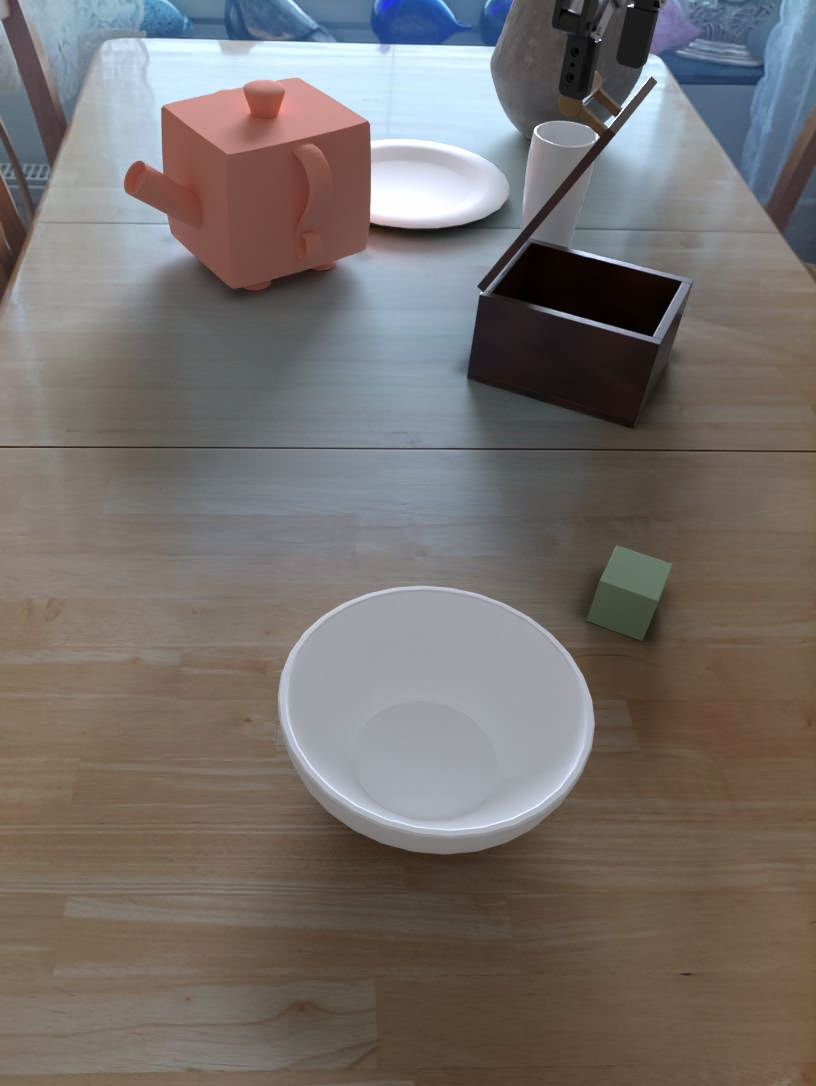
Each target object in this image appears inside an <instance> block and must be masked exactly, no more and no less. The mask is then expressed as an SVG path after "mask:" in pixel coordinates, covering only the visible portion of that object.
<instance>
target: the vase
mask: <svg viewBox="0 0 816 1086" xmlns="http://www.w3.org/2000/svg"><path fill="white" fill-rule="evenodd" d="M573 1H574V0H571V2H570V7H569V10H570V8H571V6H572V4H573ZM555 3H556V0H513V1H512V3H511V5H510V6H509V11H508V13H507V15H506V18H505V21H504V25H503V27H502V30H501V33H500V35H499V37H498V39H497V43H496V44H495V48H494V50H493V52H492V55H491V57H490V62H489V67H490V68H489V69H490V75H491V79H492V83H493V86H494V89H495V90H494V91H495V93H496V96H497V98H498V99H497V100H498V102H499V103H500V106H501V108H502V110H503V113H504V114H505V115H506V117H507V119H508V120H509V122H510V123H511V124H512V125H513V127H514V128H516V130H517V131H519V133H520V134H522V135H523V136H525V137H526V138H527V139H529V140H531V141H532V137H533V132H534V129H535V128H536V127H537V126H538V125H540V124H542V123H545V122H550V121H569V122H575V123H579V124H582V125H585V126H588V125H587V124H586V123H585V122H584V121H583V120H581V119H580V118H579V117H578V116H577V115H576V116H575V117H566V116H564V115H563V114H562V113H561V112H560V109H559V105H558V103H559V99H560V97H561V94H560V92H559V82H560V76H561V71H562V65H563V60H564V55H565V49H566V44H567V39H568V35H567V33H565V32H563V31H561V30H558V29H554V28H553V27H552V18H553V13H554V8H555ZM634 3H635V2H631V1H630V0H626V1H625V3H624V5H623V6H622V7H620V8H617V9H615V10H614V11H613V13H612V15H611V18H610V20H609V22H608V24H607V26H606V29H605V31H604V33H603V35H602V37H601V40H602V42H601V47H600V51H599V56H598V61H597V66H596V71H597V72H599V74H600V75H601V78H602V86H601V88H602V89H603V90H604V91H605V92H606V93H607V94H608V95H609V96H610V97H611V98H612V99H613V100H614V101H615V102H616V103H617V104H619V105H620V106H621V107H622V106H623V104H624V103H625V102H626V101H627V99H628V98H629V96H631V94H632V92H633V90H634V88H635V86H636V85H637V83H638V81H639V80H640V77H641V75H642V73H643V69H644V66H642V67H640V68H638V69H635V68H631V67H627V66H624V65H620V64H619V63H618V62H617V60H616V55H617V51H618V46H619V42H620V37H621V33H622V28H623V24H624V19H625V15H626V10H627V6H629V5H631V4H633V5H634ZM600 6H601V3H598V7H597V11H596V15H597V12H598V10H599V8H600ZM596 15H595V17H596ZM586 107H587V108H588V109H589V110H590V111H591V112H592V113H593V114H594V115H595V116H597V117H598V118H599V119H600V120H601V121H602V122H603V123H604V124H605V123H606V122H607V121H608V120H610V118H612V116H613V115H612V114H611V113H610V112H609V111H608V110H607V109H606V108H605V107H604V106H602V105H601V104H600V103H599V102H598V101H597V100H596V99H595V98H594V97H593V98H592V99H591V101H590V102H589V103H588V104H587V105H586ZM588 127H589V126H588Z"/></svg>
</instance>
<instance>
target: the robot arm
mask: <svg viewBox="0 0 816 1086" xmlns="http://www.w3.org/2000/svg"><path fill="white" fill-rule="evenodd" d="M625 1H626V0H574V1H573V4H572V6H571V8H570V10H569V7H570V2H571V0H556V3H555V8H554V13H553V18H552V27H553V28H554V29H558V30H561V31H563V32H565V33H567V35H568V39H567V44H566V49H565V55H564V60H563V65H562V71H561V76H560V82H559V92H560V94H561V95H563V96H566V97H570V98H573V99H576V100H583V99H585V98H586V97H588V96H589V95H590V93H591V90H592V85H593V80H594V75H595V70H596V66H597V61H598V56H599V51H600V47H601V42H602V40H601V37H602V35H603V33H604V31H605V29H606V26H607V24H608V22H609V20H610V18H611V15H612V13H613V11H614V10H615V9H617V8H620V7H622V6H623V5H624V3H625ZM630 1H631V2H635V3H634V5H633V4H631V5H629V6H627V10H626V15H625V19H624V24H623V28H622V33H621V37H620V42H619V46H618V51H617V55H616V60H617V62H618V63H619V64H620V65H624V66H627V67H631V68H635V69H638V68H640V67H642V66H643V67H644V66H645V65H646V64H647V62H648V59H649V56H650V51H651V47H652V43H653V39H654V34H655V31H656V26H657V22H658V18H659V14H660V10H662V9H664V8H665V6H666V5H667V2H668V0H630ZM598 3H601V6H600V8H599V10H598V12H597V15H596V11H597V7H598ZM659 9H660V10H659ZM595 15H596V17H595Z"/></svg>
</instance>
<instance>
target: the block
mask: <svg viewBox="0 0 816 1086" xmlns="http://www.w3.org/2000/svg"><path fill="white" fill-rule="evenodd" d="M673 566H674V565H673V563H670V562H667V561H664V560H660V559H658V558H656V557H653V556H650V555H647V554H643V553H641V552H639V551H638V552H637V551H635V550H632V549H629V548H626V547H623V546H620V545H615V546H614V549H613V551H612V553H611V555H610V557H609V559H608V562H607V564H606V566H605V568H604V571H603V572H602V575H601V577H600V579H599V582H598V584H597V588H596V591H595V593H594V597H593V600H592V602H591V606H590V609H589V611H588V614H587V616H586V617H587V618H586V621H587V622H588V623H591V624H594V625H597V626H599V627H602V628H605V629H608V630H609V631H613V632H616V633H619V634H621V635H624V636H628V637H629V638H632V639H635V640H637V641H640V642H643V641H644V639H645V636H646V634H647V631H648V629H649V626H650V624H651V622H652V619H653V616H654V614H655V612H656V609H657V607H658V604H659V602H660V599H661V597H662V594H663V591H664V589H665V587H666V584H667V581H668V579H669V576H670V574H671V571H672V569H673Z"/></svg>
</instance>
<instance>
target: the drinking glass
mask: <svg viewBox="0 0 816 1086" xmlns="http://www.w3.org/2000/svg"><path fill="white" fill-rule="evenodd" d="M599 138H600V137H599V136H598V135H597V134H596V133H595V132H594V131H593V130H592V129H591V128H590V127H588V126H585V125H582V124H579V123H575V122H569V121H550V122H545V123H542V124H540V125H538V126H537V127H536V128H535V129H534V132H533V137H532V140H531V142H530V146H529V151H528V155H527V161H526V169H525V177H524V188H523V199H522V209H521V221H520V231H519V235H520V234H521V232H522V231H523V230H524V229H525V228H526V226H527V225H528V224H529V223H530V222H531V220H532V219H533V218H534V217H535V215H536V214H537V213H538V212H539V211H540V209H541V208H542V207H543V206H544V205H545V203H546V202H547V201H548V200H549V198H550V197H551V196H552V195H553V194H554V192H555V191H556V190H557V189H558V188H559V186H560V185H561V184H562V183H563V181H564V180H565V179H566V178H567V177H568V175H569V174H570V173H571V172H572V171H573V169H574V168H575V167H576V166H577V164H578V163H579V162H580V161H581V160H582V158H583V157H584V156H585V155H586V154H587V152H588V151H589V150H590V149H591V147H592V146H593V145H594V144H595V143H596V141H597V140H598V139H599ZM595 163H596V159H595V160H594V161H593V162H592V164H591V165H590V166H589V167H588V168H587V170H586V171H585V172H584V173H583V174H582V176H581V177H580V178H579V179H578V180H577V181H576V183H575V184H574V185H573V186H572V187H571V189H570V190H569V191H568V192H567V193H566V195H565V196H564V197H563V198H562V199H561V201H560V202H559V203H558V204H557V205H556V207H555V208H554V209H553V210H552V211H551V213H550V214H549V215H548V216H547V217H546V218H545V220H544V221H543V222H542V223H541V224H540V226H539V227H538V228H537V229H536V230H535V232H534V233H533V234H532V235H531V236H530V238H532V239H536V240H540V241H544V242H548V243H552V244H556V245H560V246H564V247H568V248H571V243H572V241H573V237H574V234H575V231H576V228H577V224H578V222H579V218H580V215H581V212H582V209H583V206H584V202H585V199H586V196H587V193H588V190H589V186H590V183H591V179H592V175H593V171H594V167H595Z"/></svg>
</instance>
